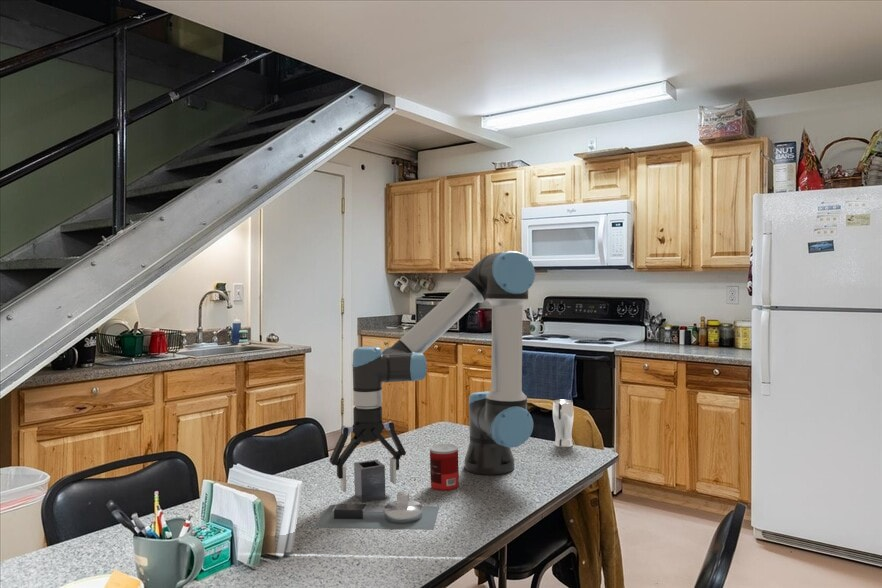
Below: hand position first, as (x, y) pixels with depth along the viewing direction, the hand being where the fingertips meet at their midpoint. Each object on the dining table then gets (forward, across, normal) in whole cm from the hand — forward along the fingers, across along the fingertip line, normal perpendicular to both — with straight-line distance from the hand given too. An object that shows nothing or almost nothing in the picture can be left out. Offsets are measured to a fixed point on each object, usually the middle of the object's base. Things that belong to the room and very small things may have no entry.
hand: (368, 486), depth 156 cm
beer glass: (+3, -75, -17) cm, 77 cm away
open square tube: (+3, 0, 0) cm, 3 cm away
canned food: (+3, -21, +2) cm, 22 cm away
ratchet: (+3, +2, +14) cm, 14 cm away
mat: (+3, +2, +14) cm, 14 cm away
